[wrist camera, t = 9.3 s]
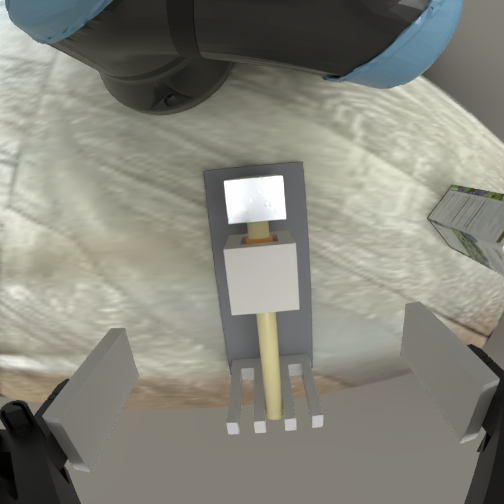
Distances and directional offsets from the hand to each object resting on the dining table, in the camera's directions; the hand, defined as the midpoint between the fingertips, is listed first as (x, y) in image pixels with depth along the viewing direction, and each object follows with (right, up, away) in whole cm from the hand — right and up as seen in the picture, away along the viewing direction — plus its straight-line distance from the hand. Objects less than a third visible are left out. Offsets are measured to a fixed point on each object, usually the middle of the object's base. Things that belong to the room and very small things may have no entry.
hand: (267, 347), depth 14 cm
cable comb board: (+1, +2, +22) cm, 22 cm away
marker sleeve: (0, +3, +14) cm, 14 cm away
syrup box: (+24, +8, +20) cm, 32 cm away
